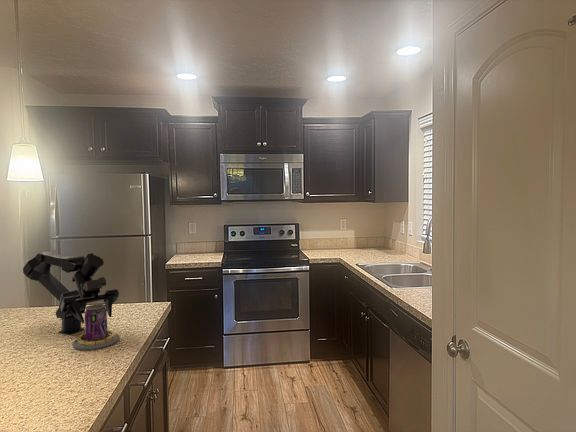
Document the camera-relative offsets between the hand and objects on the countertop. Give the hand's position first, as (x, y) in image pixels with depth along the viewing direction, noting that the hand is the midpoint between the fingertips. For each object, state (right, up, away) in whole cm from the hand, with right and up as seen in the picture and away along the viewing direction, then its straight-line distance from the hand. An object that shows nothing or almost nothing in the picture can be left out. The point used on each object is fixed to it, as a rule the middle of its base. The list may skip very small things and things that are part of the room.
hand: (97, 319), depth 137 cm
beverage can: (-1, -8, +1) cm, 8 cm away
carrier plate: (-1, -9, +1) cm, 9 cm away
